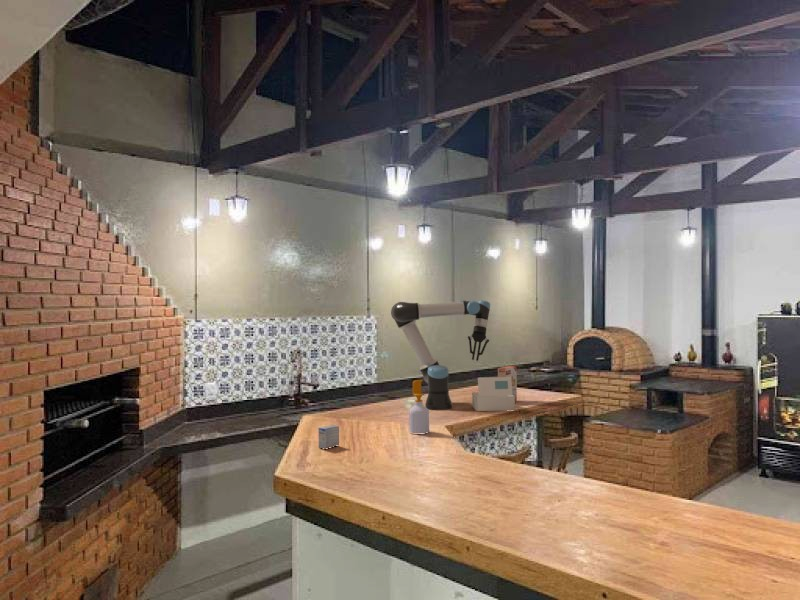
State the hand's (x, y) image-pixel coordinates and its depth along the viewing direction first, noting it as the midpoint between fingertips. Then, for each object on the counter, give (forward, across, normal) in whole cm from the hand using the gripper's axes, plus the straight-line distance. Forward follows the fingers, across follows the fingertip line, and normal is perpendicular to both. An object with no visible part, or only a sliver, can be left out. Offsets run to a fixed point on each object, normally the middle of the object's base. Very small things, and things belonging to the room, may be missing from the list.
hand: (474, 365), depth 339 cm
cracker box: (+17, -23, -10) cm, 30 cm away
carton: (+23, -14, +10) cm, 29 cm away
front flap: (+11, -13, +20) cm, 26 cm away
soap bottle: (+42, +18, +70) cm, 84 cm away
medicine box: (+54, +52, +99) cm, 124 cm away
